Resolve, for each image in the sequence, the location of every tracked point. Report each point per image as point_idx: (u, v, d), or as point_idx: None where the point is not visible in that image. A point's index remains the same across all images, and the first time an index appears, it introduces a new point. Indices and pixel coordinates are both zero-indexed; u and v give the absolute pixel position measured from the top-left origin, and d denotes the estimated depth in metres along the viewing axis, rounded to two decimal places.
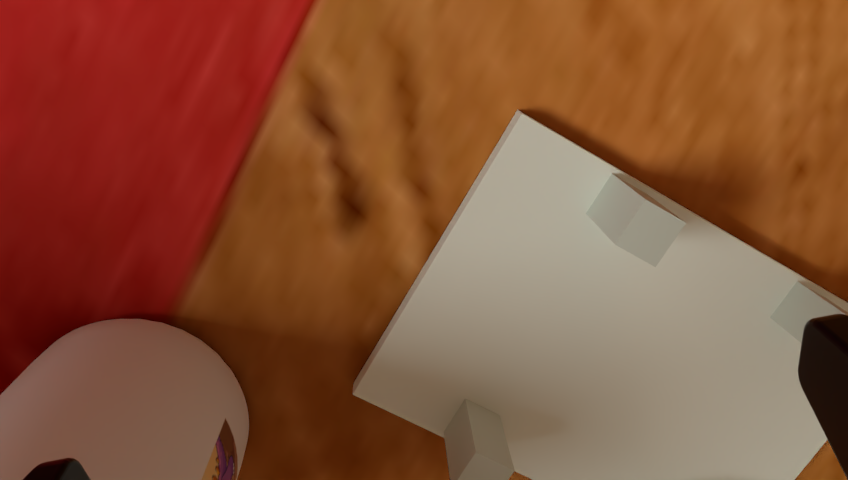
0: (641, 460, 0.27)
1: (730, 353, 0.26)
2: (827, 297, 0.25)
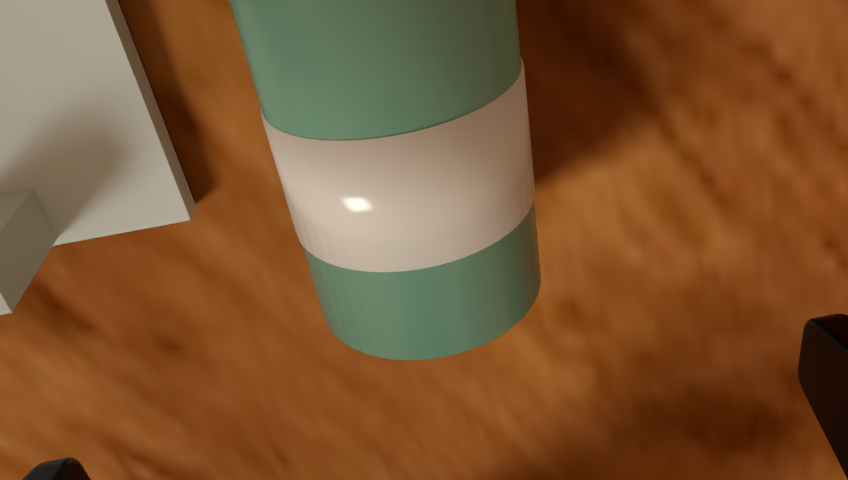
0: None
1: None
2: None
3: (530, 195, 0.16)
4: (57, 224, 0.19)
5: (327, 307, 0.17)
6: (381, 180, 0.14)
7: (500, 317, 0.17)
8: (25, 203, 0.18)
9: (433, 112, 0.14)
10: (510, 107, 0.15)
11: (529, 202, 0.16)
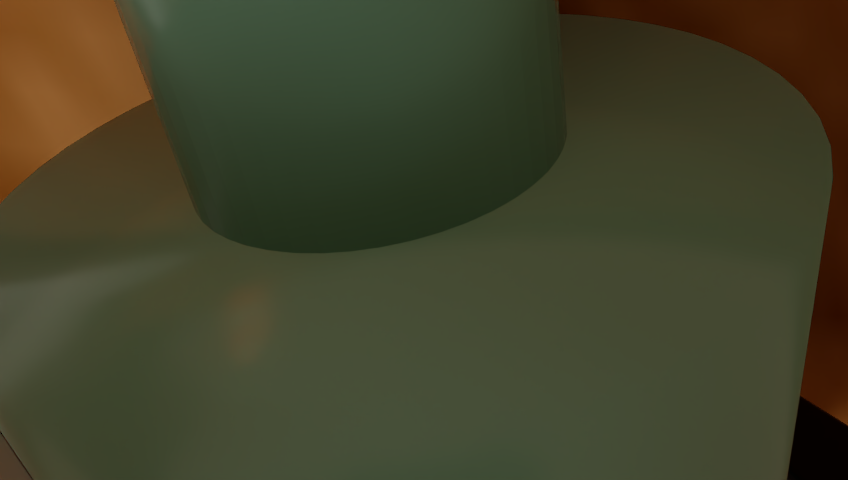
0: None
1: None
2: None
3: None
4: None
5: None
6: None
7: None
8: None
9: None
10: None
11: None
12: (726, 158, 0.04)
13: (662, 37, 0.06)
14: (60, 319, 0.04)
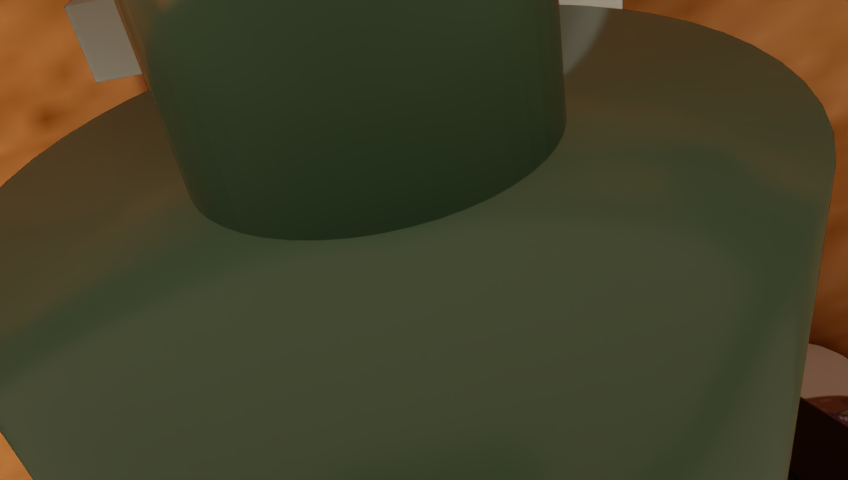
0: None
1: None
2: None
3: None
4: None
5: None
6: None
7: None
8: None
9: None
10: None
11: None
12: (728, 143, 0.04)
13: (663, 26, 0.06)
14: (53, 305, 0.04)
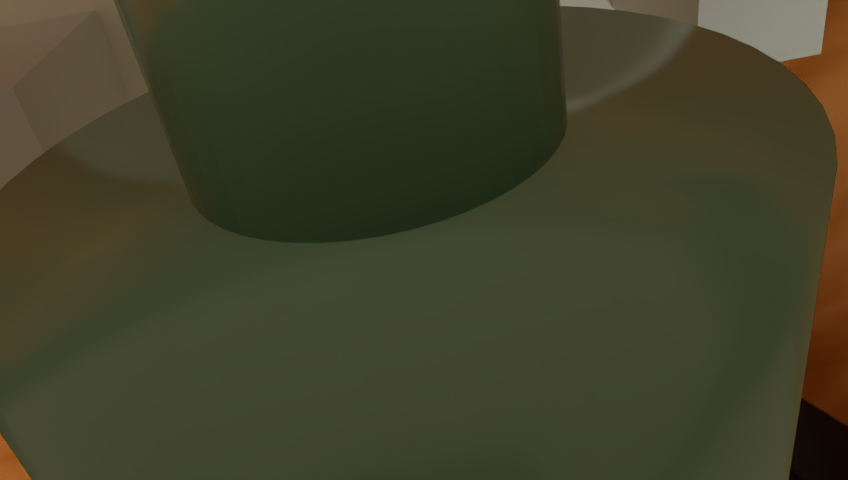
0: None
1: None
2: None
3: None
4: None
5: None
6: None
7: None
8: None
9: None
10: None
11: None
12: (728, 144, 0.04)
13: (663, 28, 0.06)
14: (52, 309, 0.04)
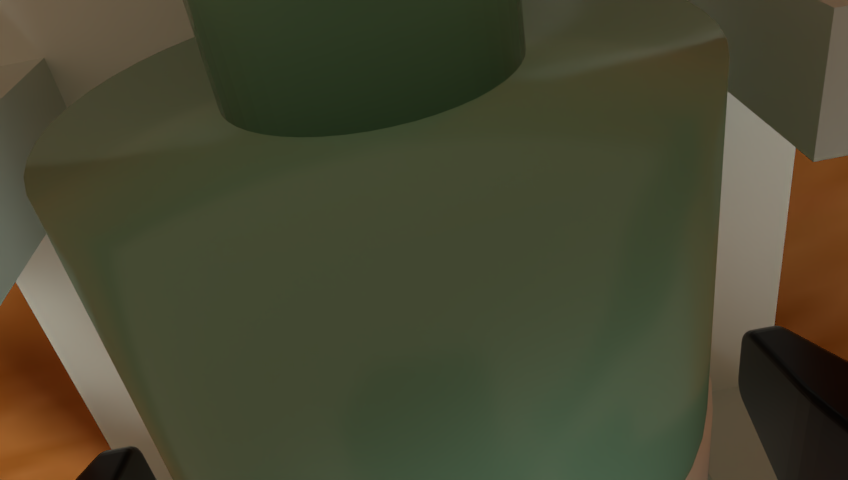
0: None
1: None
2: None
3: None
4: None
5: None
6: None
7: None
8: None
9: None
10: None
11: None
12: (647, 66, 0.05)
13: None
14: (115, 183, 0.05)
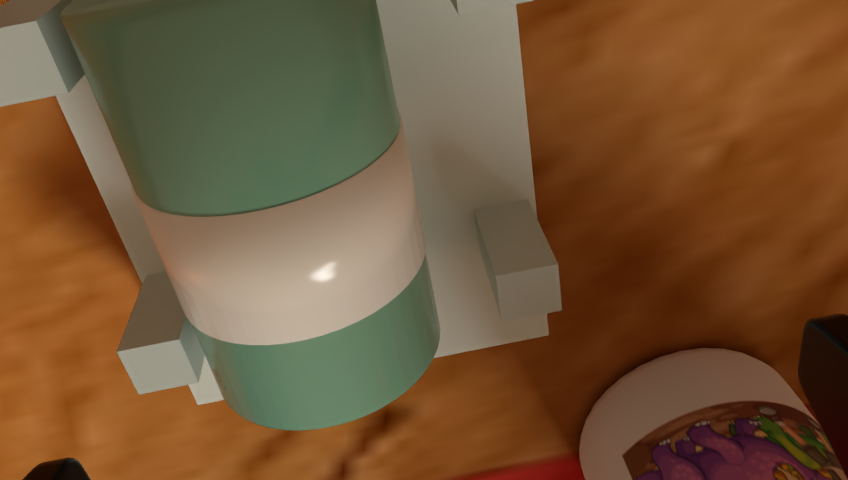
0: (407, 14, 0.17)
1: None
2: None
3: (404, 275, 0.16)
4: None
5: None
6: (218, 257, 0.14)
7: (365, 397, 0.16)
8: None
9: (260, 196, 0.13)
10: (364, 190, 0.14)
11: (402, 283, 0.16)
12: None
13: None
14: (92, 10, 0.13)
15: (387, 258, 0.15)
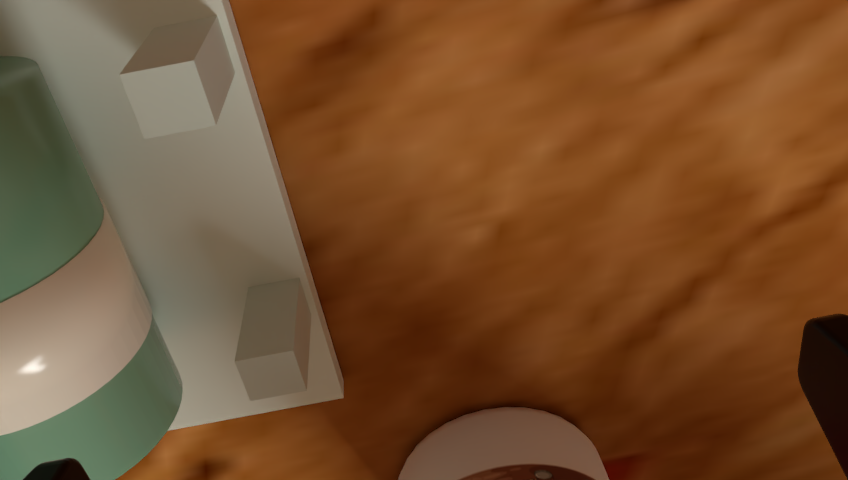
0: None
1: None
2: None
3: (88, 383, 0.16)
4: (197, 11, 0.17)
5: None
6: None
7: None
8: (152, 34, 0.17)
9: None
10: (17, 313, 0.15)
11: (85, 390, 0.16)
12: None
13: (23, 80, 0.15)
14: None
15: (60, 370, 0.16)
